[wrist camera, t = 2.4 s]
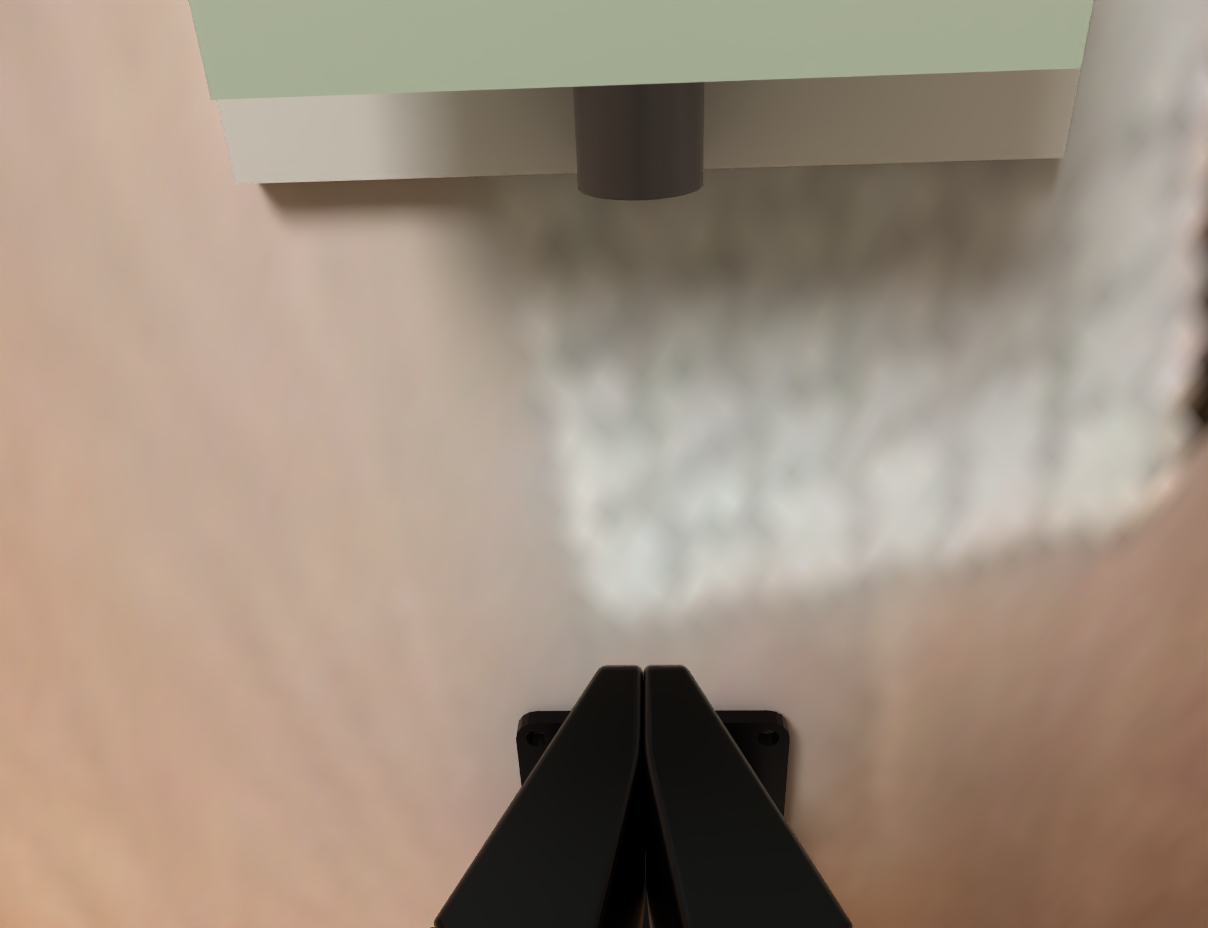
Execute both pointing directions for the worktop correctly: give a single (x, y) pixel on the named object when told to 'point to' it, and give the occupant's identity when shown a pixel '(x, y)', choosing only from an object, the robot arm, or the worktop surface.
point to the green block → (615, 42)
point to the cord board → (726, 126)
